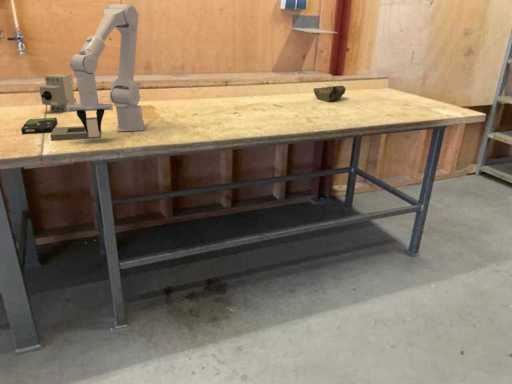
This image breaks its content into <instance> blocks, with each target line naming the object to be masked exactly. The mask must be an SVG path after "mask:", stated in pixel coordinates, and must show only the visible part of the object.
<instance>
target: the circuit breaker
mask: <svg viewBox="0 0 512 384" xmlns="http://www.w3.org/2000/svg"><path fill="white" fill-rule="evenodd" d="M44 79H45V85H41V86H39V87H38V89H39V94H40V98H41V99H40V100H41V104H42V105H46V106H50V107H49V109H50V112H62V113H68V112H67V105H78V104H77V98H76V97H75V94H74V87H73V85H74V79H73V77H72V74H69V73H68V74H67V73H65V74H62V73H54V74H49V75H45V76H44Z"/></svg>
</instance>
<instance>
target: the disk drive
mask: <svg viewBox="0 0 512 384" xmlns="http://www.w3.org/2000/svg"><path fill="white" fill-rule="evenodd" d="M57 125H58V119H57V117H41V118H30V119H28V120H26V121H25V123H24V124H23V125H22V127H21V129H20V130H21V135H37V134H51V133H52V131H53V129H54V128H56V127H57Z"/></svg>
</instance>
